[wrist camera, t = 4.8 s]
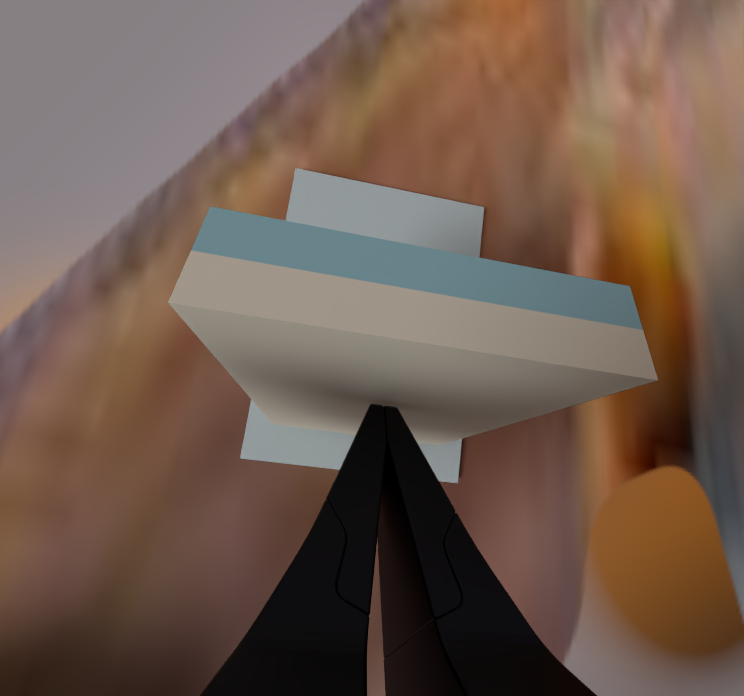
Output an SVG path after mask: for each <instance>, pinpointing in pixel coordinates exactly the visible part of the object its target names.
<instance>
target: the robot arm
mask: <svg viewBox="0 0 744 696" xmlns="http://www.w3.org/2000/svg"><path fill="white" fill-rule="evenodd" d="M377 537H378V556H379V575H380V594H381V613H382V632H383V652H384V658H385V659H384V672H385V691H386V696H597V695H596V694H595V693H593V692H592V691H591V690H590V689H589V688H588V687H587V686H585V684H583V683H582V682H581V681H580V680H579V679H578V678H577V677H576V676H575V675H573V674H572V673H571V672H570V671H569V670H568V669H567V668H566V667H565V666H564V665H563V664H562V663H561V662H560V661H559V660H558V659H557V658H556V657H555V656H554V655H553V654H552V653H551V652H550V651H549V650H548V649H547V647H546V646H545V645H544V644H543V643H542V641H541V640H540V639H539V638H538V636H537V635H536V634H535V632H534V631H533V629H532V628H531V627H530V625H529V624H528V622H527V621H526V619H525V618H524V617H523V615H522V614H521V612H520V611H519V609H518V608H517V606H516V605H515V603H514V602H513V600H512V599H511V598H510V596H509V595H508V593H507V592H506V590H505V589H504V587H503V586H502V584H501V583H500V581H499V580H498V579H497V577H496V576H495V574H494V573H493V571H492V570H491V568H490V567H489V565H488V564H487V562H486V561H485V559H484V558H483V556H482V555H481V553H480V552H479V550H478V548H477V547H476V545H475V544H474V542H473V540H472V538H471V537H470V535H469V533H468V532H467V530H466V528H465V527H464V525H463V523H462V521H461V519H460V518H459V516H458V514H457V513H455V509H454V507H453V505H452V504H451V502H450V500H449V498H448V497H447V495H446V493H445V491H444V489H443V488H442V486H441V484H440V482H439V481H438V479H437V477H436V475H435V473H434V472H433V470H432V468H431V466H430V465H429V463H428V461H427V459H426V457H425V456H424V454H423V452H422V450H421V449H420V447H419V445H418V443H417V441H416V440H415V438H414V436H413V434H412V433H411V431H410V429H409V427H408V425H407V424H406V422H405V420H404V418H403V417H402V415H401V413H400V411H399V409H398V408H397V407H393V406H384V407H383V405H379V404H370V406H369V408H368V410H367V412H366V414H365V416H364V418H363V420H362V423H361V425H360V427H359V429H358V431H357V433H356V435H355V438H354V440H353V442H352V444H351V446H350V448H349V451H348V453H347V455H346V457H345V459H344V461H343V463H342V466H341V468H340V470H339V472H338V474H337V476H336V478H335V481H334V483H333V485H332V487H331V489H330V491H329V494H328V496H327V498H326V500H325V502H324V504H323V506H322V508H321V510H320V512H319V515H318V517H317V519H316V521H315V522H314V524H313V526H312V528H311V530H310V532H309V534H308V536H307V538H306V539H305V541H304V543H303V544H302V546H301V548H300V550H299V551H298V553H297V555H296V556H295V558H294V560H293V561H292V563H291V564H290V566H289V568H288V569H287V571H286V572H285V574H284V576H283V577H282V579H281V580H280V582H279V584H278V585H277V587H276V588H275V590H274V592H273V593H272V595H271V596H270V598H269V600H268V601H267V603H266V604H265V606H264V608H263V609H262V611H261V612H260V614H259V615H258V617H257V619H256V620H255V622H254V623H253V625H252V626H251V628H250V629H249V631H248V632H247V633H246V635H245V636H244V638H243V639H242V641H241V642H240V643H239V645H238V646H237V648H236V649H235V650H234V652H233V653H232V654H231V656H230V657H229V658H228V659H227V661H226V662H225V663H224V665H223V666H222V667H221V669H220V670H219V671H218V672H217V674H216V675H215V676H214V678H213V679H212V680H211V682H210V683H209V684H208V685H207V687H206V688H205V689H204V691H203V692H202V693H201V694H200V696H367V641H368V627H369V614H370V606H371V596H372V586H373V575H374V565H375V555H376V545H377Z"/></svg>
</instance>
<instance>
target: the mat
mask: <svg viewBox="0 0 744 696" xmlns="http://www.w3.org/2000/svg"><path fill="white" fill-rule="evenodd" d="M483 214H484V207H480V206H476V205H471V204H466V203H461V202H456V201H452V200H447V199H442V198H437V197H432V196H427V195H423V194H418V193H413V192H408V191H403V190H399V189H394V188H389V187H384V186H379V185H374V184H370V183H365V182H360V181H355V180H350V179H346V178H341V177H336V176H331V175H326V174H321V173H317V172H312V171H307V170H302V169H297V168H296V169H295V175H294V180H293V185H292V190H291V196H290V201H289V206H288V211H287V216H286V221H290V222H295V223H300V224H305V225H311V226H316V227H321V228H326V229H332V230H337V231H342V232H347V233H353V234H358V235H363V236H368V237H374V238H379V239H384V240H389V241H395V242H400V243H405V244H410V245H416V246H421V247H426V248H431V249H437V250H442V251H447V252H452V253H458V254H463V255H468V256H474V257H479V256H480V246H481V235H482V225H483ZM354 438H355V435H353V434H345V433H337V432H329V431H321V430H313V429H305V428H298V427H290V426H282V425H274V424H272V422H271V421H270V420H269V419H268V418H267V417H266V415H265V414H264V413H263V412H262V411H261V410H260V408H259V407H258V406H257V405H256V404H255V403H254V402H253V400H252V399H251V404H250V409H249V415H248V420H247V425H246V430H245V436H244V441H243V446H242V451H241V456H240V458H242V459H251V460H259V461H268V462H277V463H286V464H294V465H303V466H312V467H321V468H329V469H338V470H340V468H341V466H342V463H343V461H344V459H345V457H346V455H347V453H348V451H349V448H350V446H351V444H352V442H353V440H354ZM461 444H462V439H459V440H456V441H453V442H449V443H446V444H442V445H433V444H425V443H418V445H419V447H420V449H421V450H422V452H423V454H424V456H425V457H426V459H427V461H428V463H429V465H430V466H431V468H432V470H433V472H434V473H435V475H436V477H437V479H438V481H443V482H452V483H458V476H459V465H460V455H461Z"/></svg>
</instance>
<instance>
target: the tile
mask: <svg viewBox="0 0 744 696" xmlns="http://www.w3.org/2000/svg"><path fill="white" fill-rule="evenodd" d="M168 303H169V304H170V305H171V306H172V308H173V309H174V310H175V311H176V312H177V313H178V315H179V316H180V317H181V318H182V319H183V320H184V321H185V323H186V324H187V325H188V326H189V327H190V328H191V330H192V331H193V332H194V333H195V334H196V335H197V337H198V338H199V339H200V340H201V341H202V342H203V344H204V345H205V346H206V347H207V348H208V349H209V350H210V352H211V353H212V354H213V355H214V356H215V357H216V359H217V360H218V361H219V362H220V363H221V364H222V366H223V367H224V368H225V369H226V370H227V371H228V373H229V374H230V375H231V376H232V377H233V378H234V379H235V381H236V382H237V383H238V384H239V385H240V386H241V388H242V389H243V390H244V391H245V392H246V393H247V395H248V396H249V397H250V398H251V399H252V400H253V402H254V403H255V404H256V405H257V406H258V407H259V408H260V410H261V411H262V412H263V413H264V414H265V415H266V417H267V418H268V419H269V420H270V421H271V422H272V424H274V425H282V426H290V427H298V428H305V429H313V430H321V431H329V432H337V433H345V434H353V435H356V433H357V431H358V429H359V427H360V425H361V423H362V420H363V418H364V416H365V414H366V412H367V410H368V408H369V406H370V404H379V405H383V407H384V406H393V407H397V408H398V409H399V411H400V413H401V415H402V417H403V418H404V420H405V422H406V424H407V425H408V427H409V429H410V431H411V433H412V434H413V436H414V438H415V440H416V441H417V443H425V444H433V445H442V444H446V443H449V442H453V441H456V440H459V439H463V438H466V437H469V436H473V435H476V434H479V433H483V432H486V431H489V430H493V429H496V428H500V427H503V426H506V425H510V424H513V423H516V422H520V421H523V420H526V419H530V418H533V417H537V416H540V415H543V414H547V413H550V412H553V411H557V410H560V409H563V408H567V407H570V406H574V405H577V404H580V403H584V402H587V401H590V400H594V399H597V398H600V397H604V396H607V395H611V394H614V393H617V392H621V391H624V390H627V389H631V388H634V387H637V386H641V385H644V384H648V383H651V382H654V381H658V378H657V375H656V372H655V368H654V365H653V362H652V358H651V355H650V352H649V348H648V345H647V342H646V338H645V335H644V332H643V328H642V325H641V322H640V318H639V315H638V312H637V308H636V305H635V302H634V298H633V295H632V292H631V288H630V286H626V285H621V284H615V283H610V282H605V281H600V280H594V279H589V278H584V277H579V276H573V275H568V274H563V273H558V272H552V271H547V270H542V269H537V268H531V267H526V266H521V265H516V264H510V263H505V262H500V261H495V260H489V259H484V258H479V257H474V256H468V255H463V254H458V253H452V252H447V251H442V250H437V249H431V248H426V247H421V246H416V245H410V244H405V243H400V242H395V241H389V240H384V239H379V238H374V237H368V236H363V235H358V234H353V233H347V232H342V231H337V230H332V229H326V228H321V227H316V226H311V225H305V224H300V223H295V222H290V221H284V220H279V219H274V218H269V217H263V216H258V215H253V214H248V213H242V212H237V211H232V210H227V209H221V208H216V207H210V209H209V211H208V214H207V216H206V218H205V220H204V223H203V225H202V227H201V229H200V232H199V234H198V236H197V238H196V241H195V243H194V245H193V247H192V250H191V252H190V254H189V257H188V259H187V261H186V263H185V266H184V268H183V270H182V272H181V275H180V277H179V279H178V281H177V284H176V286H175V288H174V290H173V293H172V295H171V297H170V299H169V302H168Z"/></svg>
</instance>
